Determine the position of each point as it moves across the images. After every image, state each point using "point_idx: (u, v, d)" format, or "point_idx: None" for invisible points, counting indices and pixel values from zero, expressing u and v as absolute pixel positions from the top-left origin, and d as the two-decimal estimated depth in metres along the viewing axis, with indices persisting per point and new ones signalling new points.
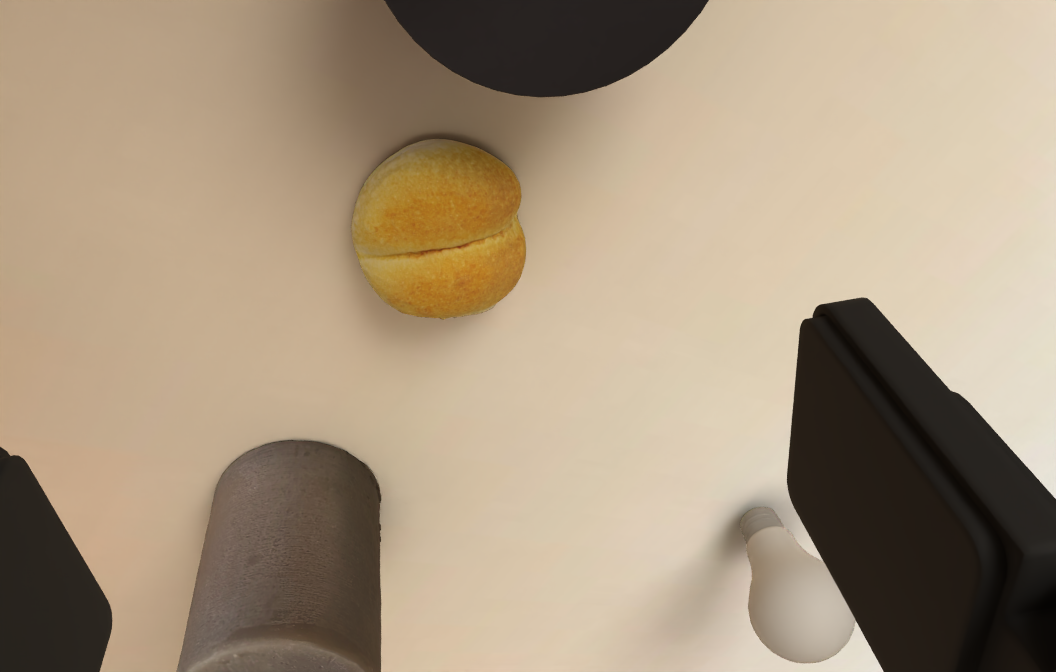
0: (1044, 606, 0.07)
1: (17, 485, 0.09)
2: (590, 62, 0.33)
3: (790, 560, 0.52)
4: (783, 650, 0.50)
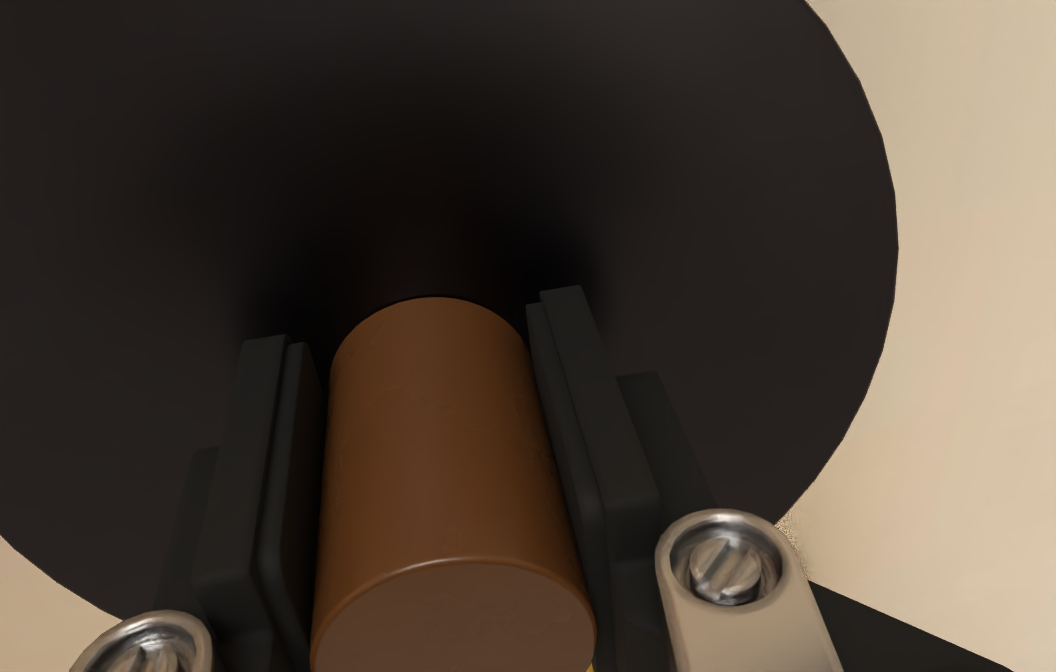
0: (644, 556, 0.08)
1: (308, 368, 0.11)
2: None
3: None
4: None
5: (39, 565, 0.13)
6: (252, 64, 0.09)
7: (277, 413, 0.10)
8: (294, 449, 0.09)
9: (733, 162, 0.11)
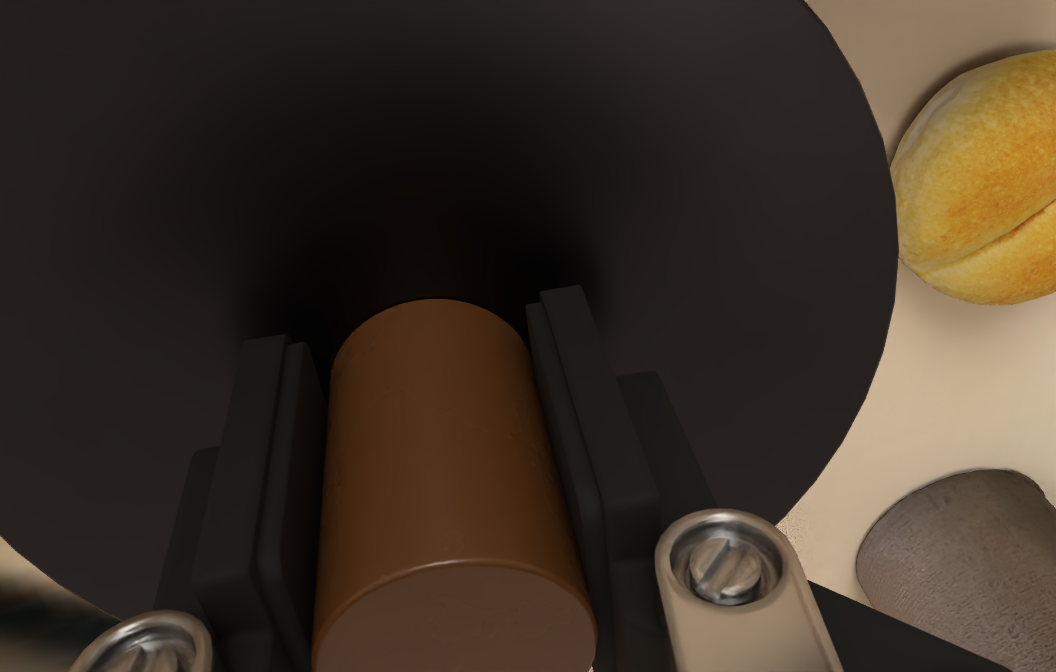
0: (644, 556, 0.08)
1: (309, 367, 0.11)
2: None
3: None
4: None
5: (40, 566, 0.13)
6: (253, 66, 0.09)
7: (277, 413, 0.10)
8: (294, 449, 0.09)
9: (734, 164, 0.11)
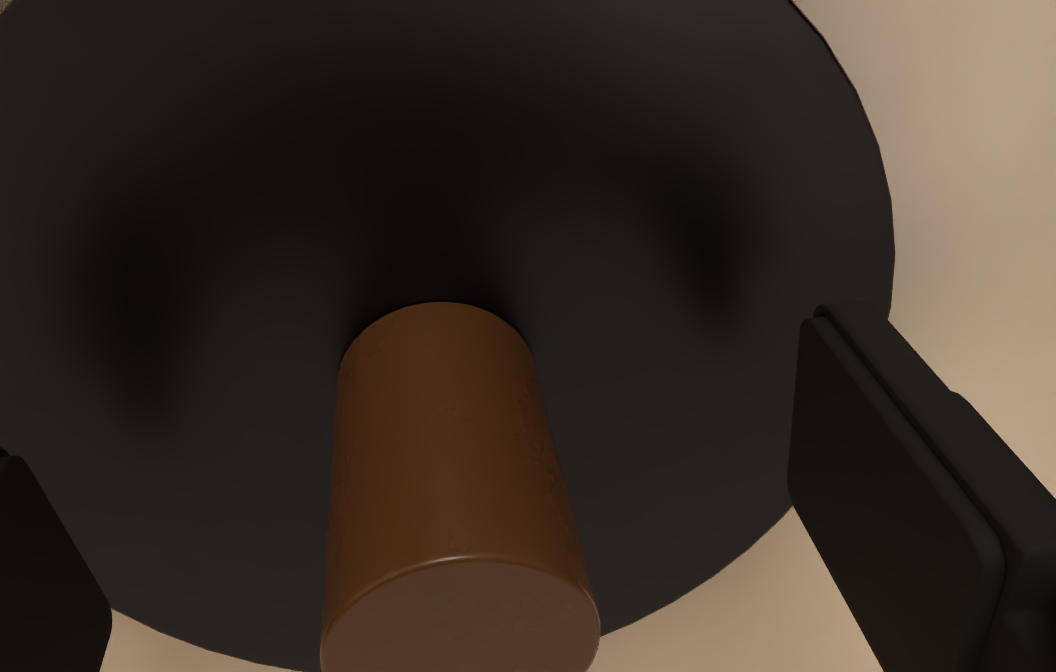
0: (1044, 606, 0.07)
1: (17, 485, 0.09)
2: (722, 514, 0.15)
3: None
4: None
5: None
6: (263, 75, 0.10)
7: None
8: None
9: (732, 170, 0.11)
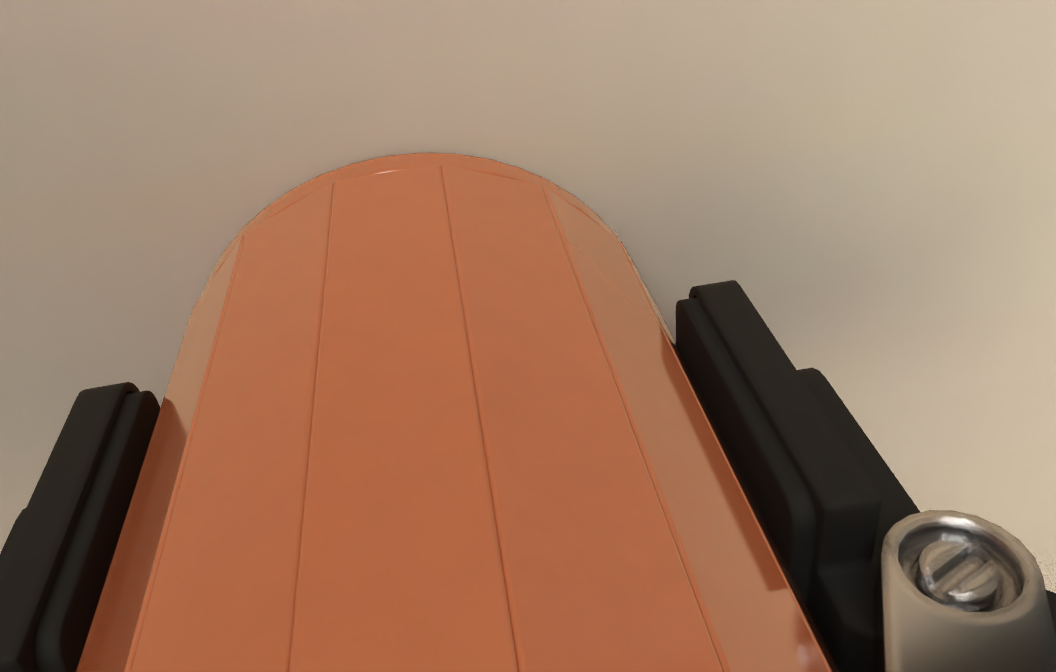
0: (854, 560, 0.08)
1: (151, 418, 0.10)
2: None
3: None
4: None
5: None
6: None
7: (97, 471, 0.09)
8: (108, 512, 0.09)
9: None
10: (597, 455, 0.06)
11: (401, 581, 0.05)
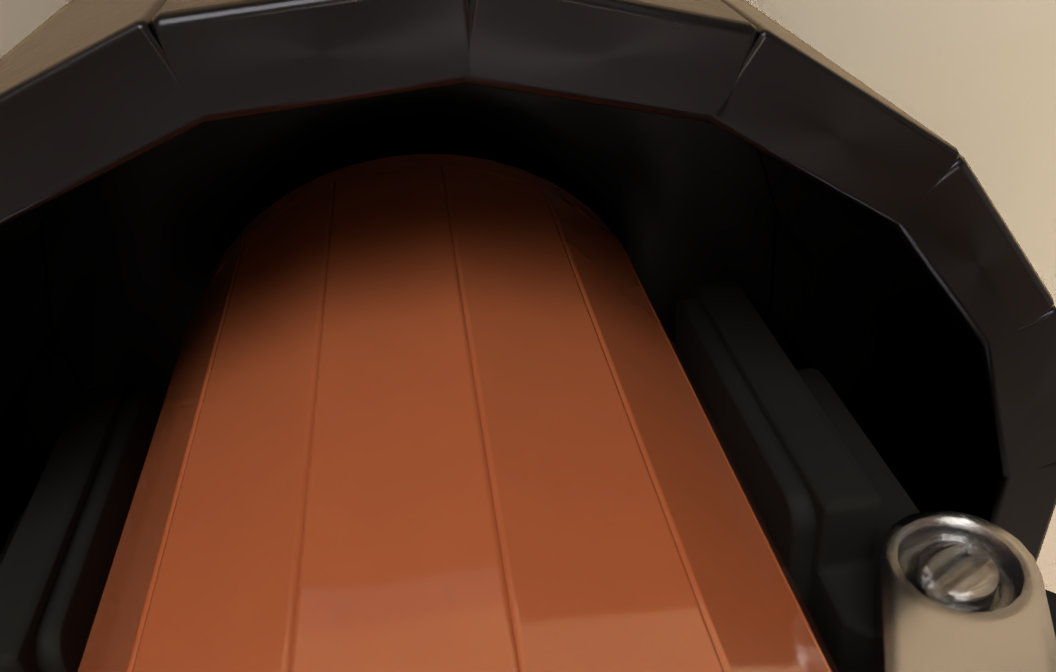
0: (854, 560, 0.08)
1: (151, 418, 0.10)
2: None
3: None
4: None
5: None
6: None
7: (98, 471, 0.09)
8: (109, 512, 0.09)
9: None
10: (598, 456, 0.06)
11: (402, 581, 0.05)
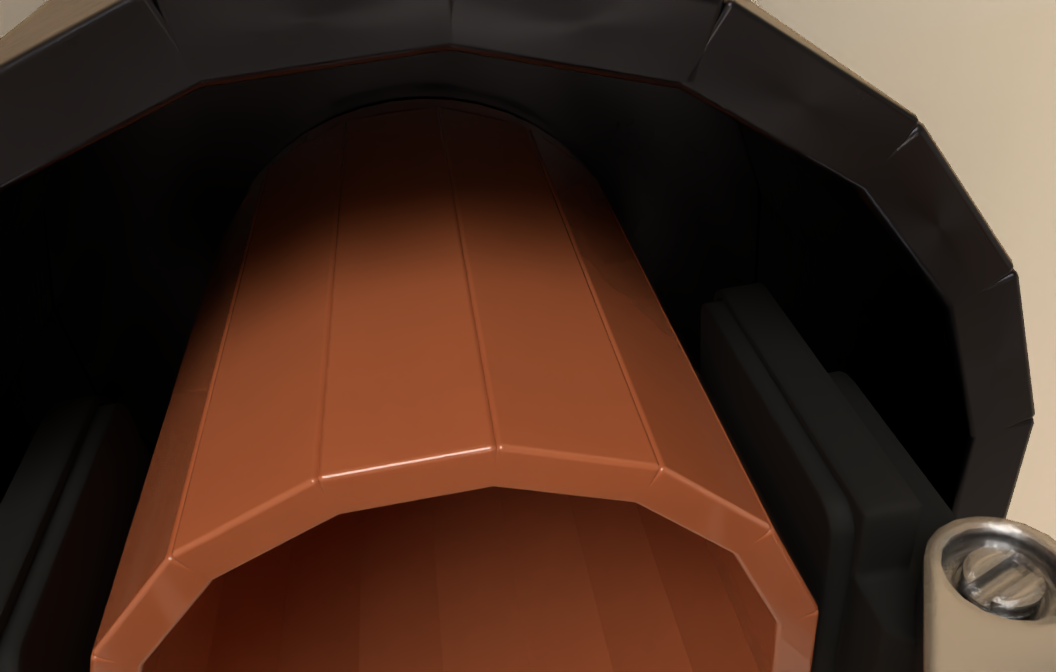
0: (893, 566, 0.08)
1: (122, 430, 0.10)
2: None
3: None
4: None
5: None
6: None
7: (64, 486, 0.09)
8: (74, 528, 0.09)
9: None
10: (563, 314, 0.08)
11: (406, 387, 0.07)
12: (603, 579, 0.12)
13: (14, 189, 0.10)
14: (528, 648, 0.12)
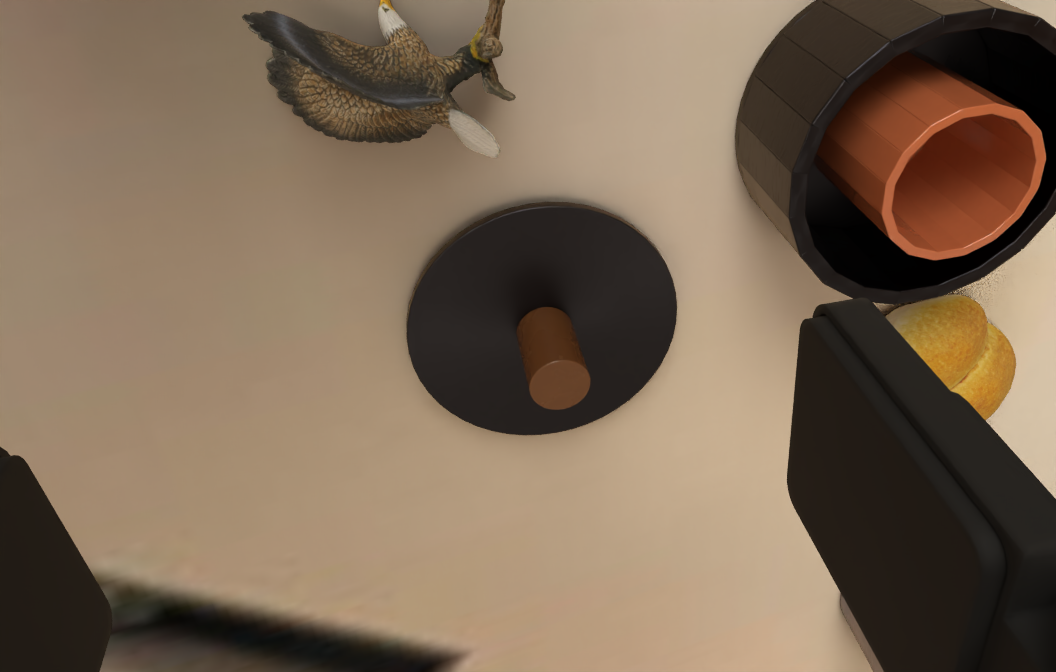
0: (1044, 606, 0.07)
1: (17, 485, 0.09)
2: (631, 375, 0.45)
3: None
4: None
5: (425, 386, 0.44)
6: (509, 252, 0.40)
7: None
8: None
9: (626, 271, 0.42)
10: (984, 91, 0.34)
11: (967, 98, 0.33)
12: (954, 196, 0.38)
13: None
14: (931, 217, 0.38)
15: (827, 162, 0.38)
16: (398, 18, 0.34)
